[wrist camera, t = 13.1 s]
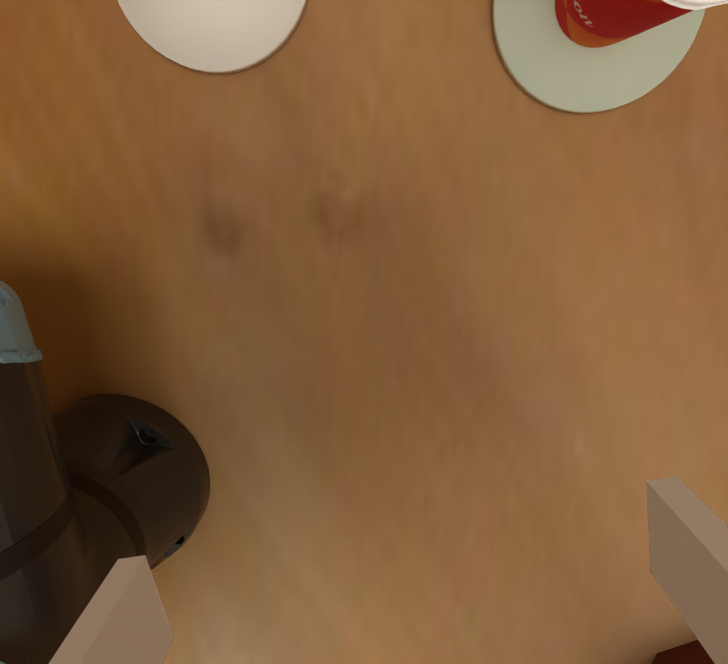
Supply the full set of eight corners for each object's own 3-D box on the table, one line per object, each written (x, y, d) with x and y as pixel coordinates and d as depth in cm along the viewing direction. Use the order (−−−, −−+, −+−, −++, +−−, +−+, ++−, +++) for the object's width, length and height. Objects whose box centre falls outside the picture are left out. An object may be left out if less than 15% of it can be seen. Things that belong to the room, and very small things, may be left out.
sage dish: (498, 127, 37) (502, 125, 36) (484, -94, 33) (487, -104, 32) (695, 97, 36) (705, 95, 35) (701, -135, 32) (713, -146, 31)
